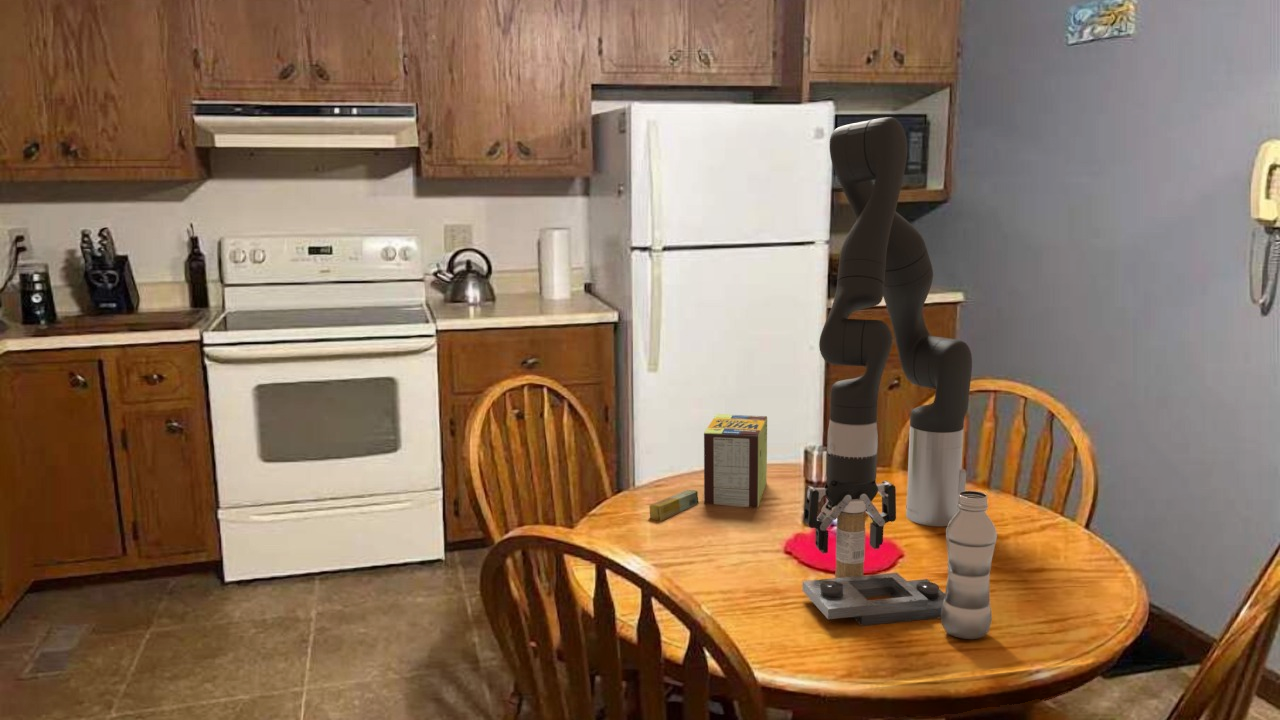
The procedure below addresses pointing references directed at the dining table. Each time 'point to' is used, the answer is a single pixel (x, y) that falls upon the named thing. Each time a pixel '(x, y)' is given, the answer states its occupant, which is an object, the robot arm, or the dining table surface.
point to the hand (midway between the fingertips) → (848, 549)
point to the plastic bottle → (969, 568)
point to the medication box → (673, 505)
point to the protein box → (735, 460)
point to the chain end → (932, 612)
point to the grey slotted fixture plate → (847, 602)
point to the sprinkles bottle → (850, 540)
